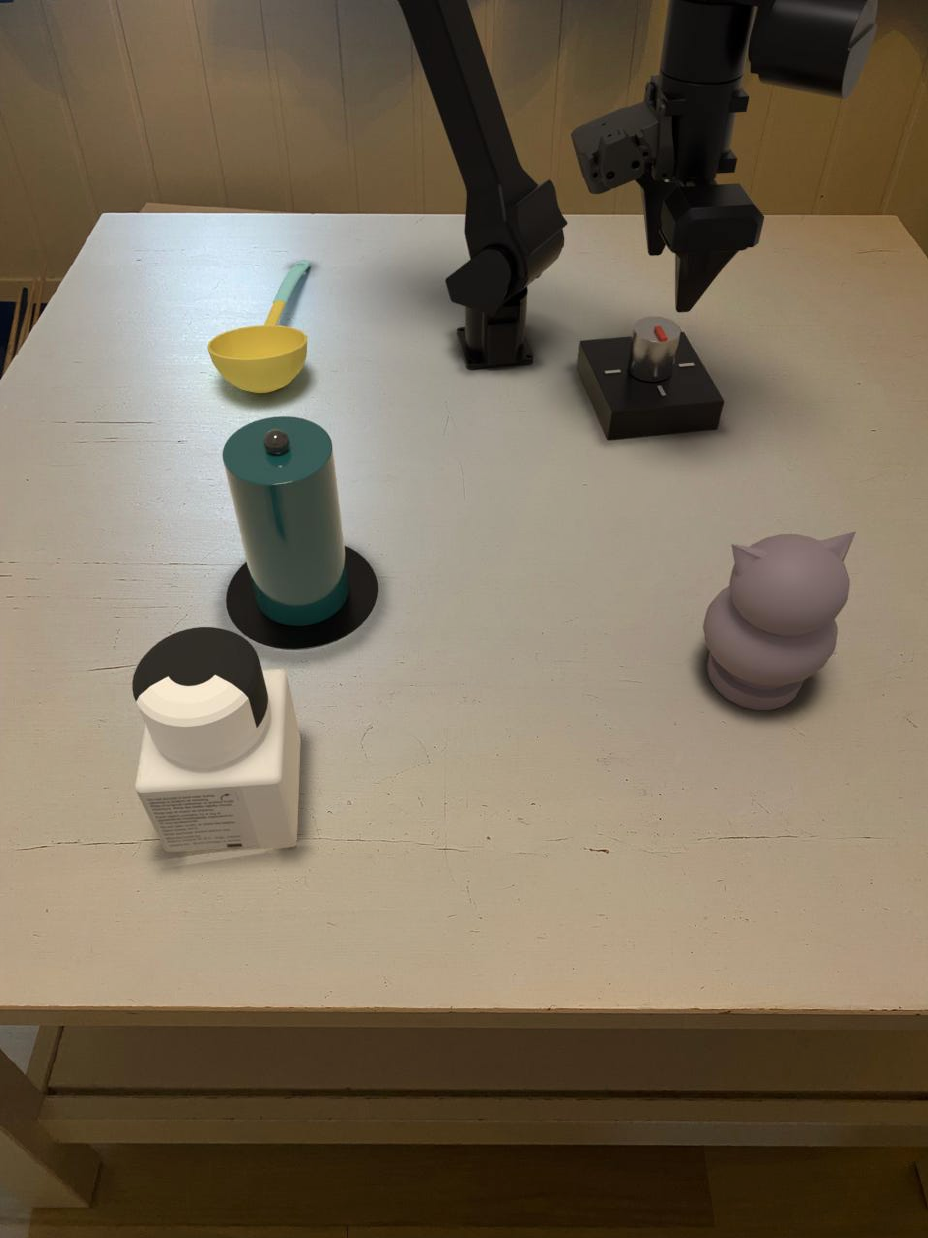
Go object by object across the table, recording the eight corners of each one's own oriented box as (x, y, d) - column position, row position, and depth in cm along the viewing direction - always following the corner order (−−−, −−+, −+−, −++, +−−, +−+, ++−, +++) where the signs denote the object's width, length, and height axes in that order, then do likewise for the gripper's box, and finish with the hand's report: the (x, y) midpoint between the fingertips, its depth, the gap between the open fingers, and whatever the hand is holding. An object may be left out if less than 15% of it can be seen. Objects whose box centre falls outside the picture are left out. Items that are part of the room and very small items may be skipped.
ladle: (204, 408, 83) (191, 343, 79) (271, 312, 104) (263, 258, 101) (303, 408, 82) (294, 343, 79) (350, 312, 104) (345, 257, 100)
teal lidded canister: (254, 563, 70) (218, 404, 60) (345, 553, 71) (326, 394, 60) (256, 632, 66) (218, 472, 55) (353, 620, 67) (334, 461, 56)
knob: (621, 358, 85) (628, 315, 81) (664, 354, 85) (672, 311, 82) (634, 384, 82) (642, 340, 79) (678, 379, 83) (687, 336, 79)
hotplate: (227, 554, 72) (225, 547, 71) (370, 539, 73) (370, 531, 73) (228, 666, 65) (226, 658, 64) (387, 646, 66) (386, 638, 66)
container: (180, 748, 60) (128, 613, 51) (302, 740, 61) (273, 605, 51) (165, 858, 55) (104, 732, 46) (298, 849, 56) (265, 722, 46)
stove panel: (576, 368, 89) (579, 338, 87) (678, 358, 90) (684, 329, 88) (607, 440, 82) (612, 410, 79) (717, 429, 83) (725, 399, 81)
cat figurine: (711, 728, 62) (755, 605, 53) (675, 637, 67) (710, 511, 58) (834, 712, 63) (898, 589, 54) (790, 624, 68) (841, 498, 59)
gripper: (562, 31, 71) (550, 234, 82) (614, 128, 58) (592, 351, 70) (708, 24, 71) (676, 226, 83) (790, 119, 59) (739, 341, 70)
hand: (667, 281), depth 77 cm, fingers open, 9 cm apart
